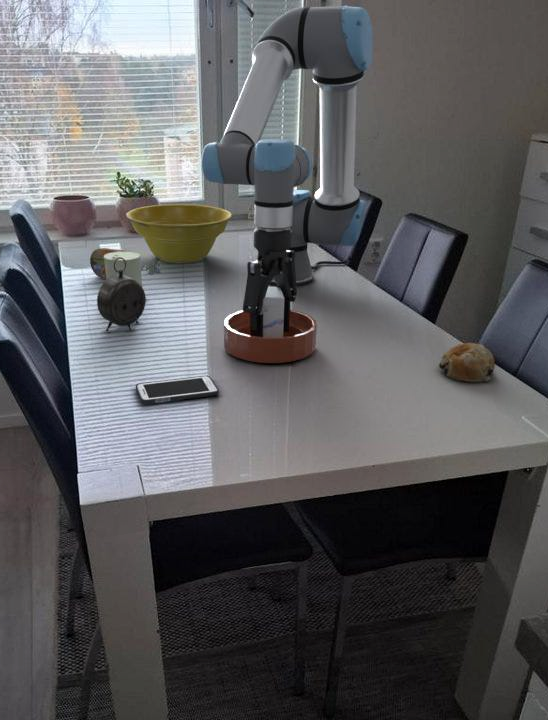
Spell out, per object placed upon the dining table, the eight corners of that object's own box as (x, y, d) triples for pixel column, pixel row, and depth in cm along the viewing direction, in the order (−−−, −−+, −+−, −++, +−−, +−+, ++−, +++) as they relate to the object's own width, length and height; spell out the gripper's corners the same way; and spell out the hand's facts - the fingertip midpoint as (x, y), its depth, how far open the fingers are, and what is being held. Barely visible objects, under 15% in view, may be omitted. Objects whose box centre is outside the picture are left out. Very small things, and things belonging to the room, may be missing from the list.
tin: (91, 277, 191) (87, 247, 186) (97, 274, 193) (93, 244, 189) (136, 283, 186) (134, 252, 181) (142, 280, 188) (140, 249, 184)
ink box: (283, 352, 140) (285, 297, 134) (260, 353, 140) (261, 297, 134) (278, 338, 148) (280, 285, 141) (256, 338, 147) (257, 285, 141)
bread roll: (470, 402, 130) (496, 372, 125) (428, 371, 132) (451, 340, 127) (484, 385, 138) (509, 355, 132) (444, 355, 139) (467, 325, 134)
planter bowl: (251, 254, 214) (251, 210, 207) (191, 277, 191) (190, 228, 184) (172, 241, 229) (170, 200, 221) (108, 261, 206) (103, 215, 198)
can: (100, 303, 171) (95, 255, 164) (122, 293, 177) (118, 247, 171) (130, 308, 167) (125, 260, 161) (151, 298, 174) (147, 251, 167)
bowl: (259, 327, 156) (259, 302, 153) (331, 346, 146) (333, 319, 143) (206, 352, 143) (205, 325, 139) (281, 374, 133) (282, 345, 129)
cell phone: (220, 395, 124) (220, 390, 123) (141, 405, 120) (141, 400, 119) (209, 379, 130) (209, 374, 129) (135, 388, 126) (134, 383, 126)
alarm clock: (137, 320, 159) (131, 251, 151) (151, 326, 156) (146, 255, 147) (99, 331, 153) (90, 259, 144) (112, 337, 150) (105, 264, 141)
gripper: (287, 216, 140) (283, 320, 152) (223, 234, 125) (224, 347, 137) (318, 221, 136) (311, 326, 148) (255, 240, 121) (254, 356, 133)
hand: (269, 336), depth 143 cm, fingers closed on ink box, 9 cm apart
